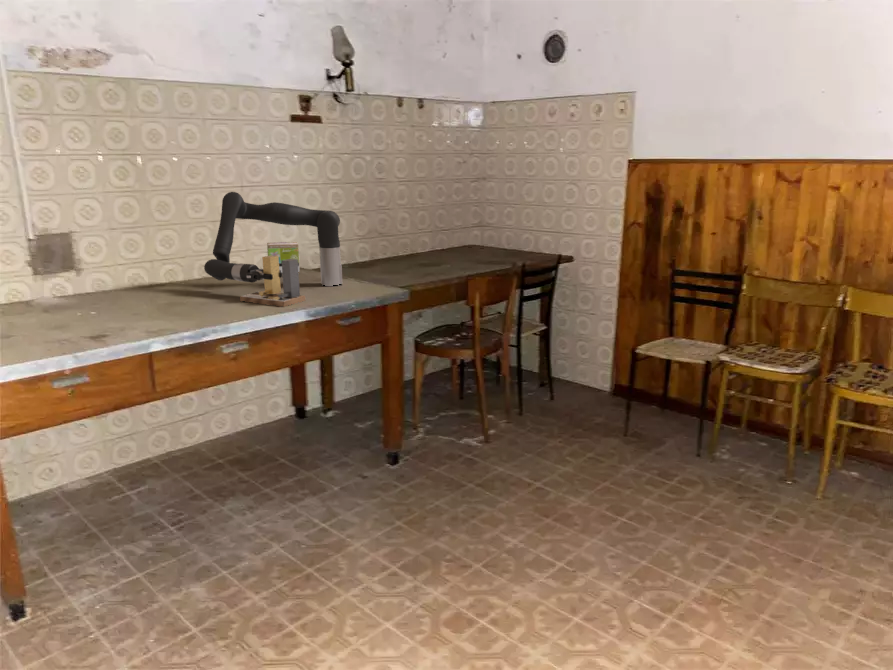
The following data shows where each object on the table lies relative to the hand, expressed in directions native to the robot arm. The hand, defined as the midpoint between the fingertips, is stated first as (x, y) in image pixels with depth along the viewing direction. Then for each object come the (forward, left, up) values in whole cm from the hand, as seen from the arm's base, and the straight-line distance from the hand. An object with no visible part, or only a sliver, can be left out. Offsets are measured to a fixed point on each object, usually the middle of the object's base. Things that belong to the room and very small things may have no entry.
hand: (276, 275), depth 275 cm
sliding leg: (+3, 0, -7) cm, 8 cm away
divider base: (+2, +1, -10) cm, 10 cm away
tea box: (-7, -68, -10) cm, 70 cm away
